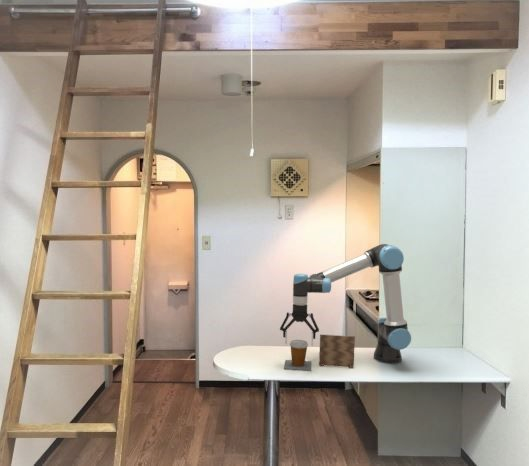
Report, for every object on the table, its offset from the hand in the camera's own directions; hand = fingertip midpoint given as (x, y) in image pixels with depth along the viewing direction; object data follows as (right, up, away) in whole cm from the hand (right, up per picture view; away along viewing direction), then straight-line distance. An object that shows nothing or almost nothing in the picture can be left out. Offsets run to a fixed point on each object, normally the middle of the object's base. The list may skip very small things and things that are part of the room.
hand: (299, 344), depth 254 cm
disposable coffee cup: (0, -11, +1) cm, 11 cm away
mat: (-1, -11, +1) cm, 11 cm away
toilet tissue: (+19, -11, +24) cm, 32 cm away
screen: (+20, -12, +3) cm, 23 cm away
